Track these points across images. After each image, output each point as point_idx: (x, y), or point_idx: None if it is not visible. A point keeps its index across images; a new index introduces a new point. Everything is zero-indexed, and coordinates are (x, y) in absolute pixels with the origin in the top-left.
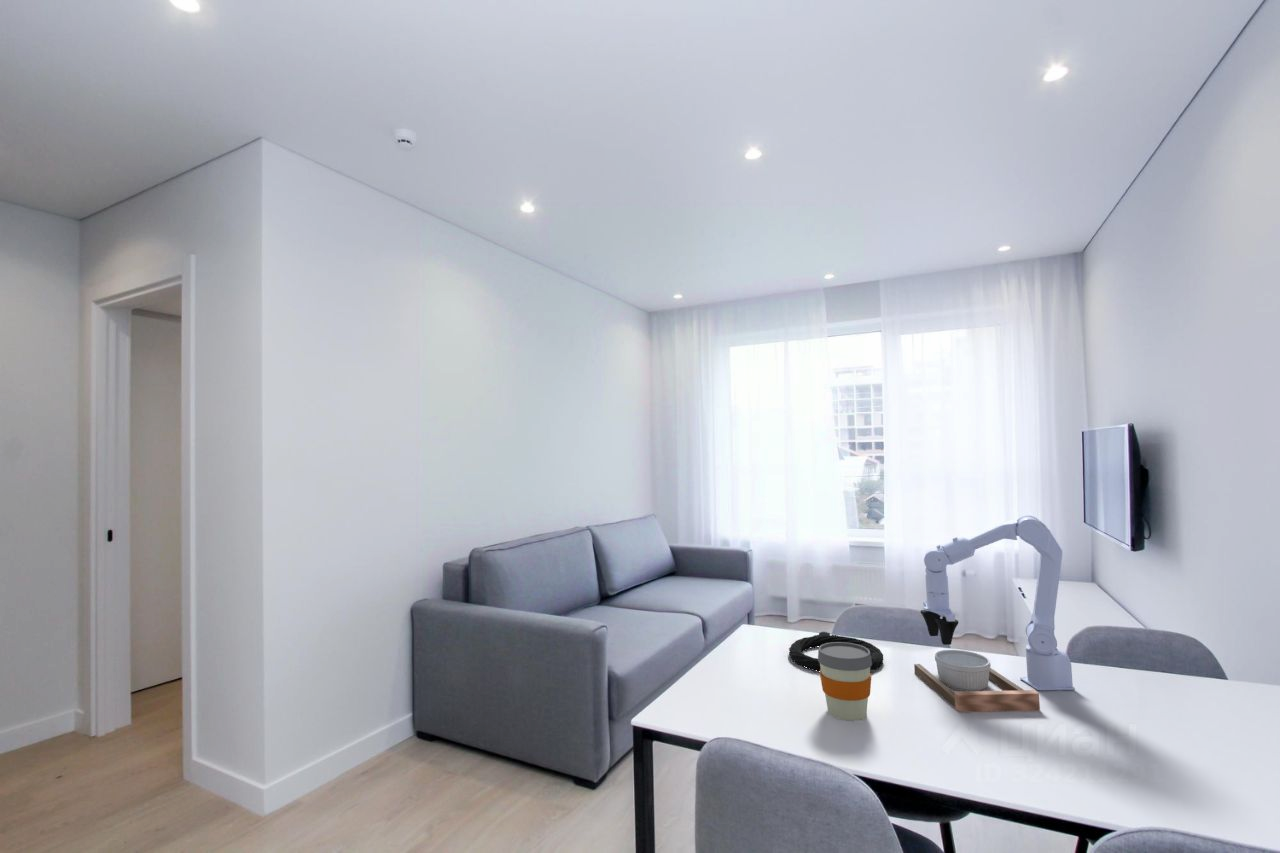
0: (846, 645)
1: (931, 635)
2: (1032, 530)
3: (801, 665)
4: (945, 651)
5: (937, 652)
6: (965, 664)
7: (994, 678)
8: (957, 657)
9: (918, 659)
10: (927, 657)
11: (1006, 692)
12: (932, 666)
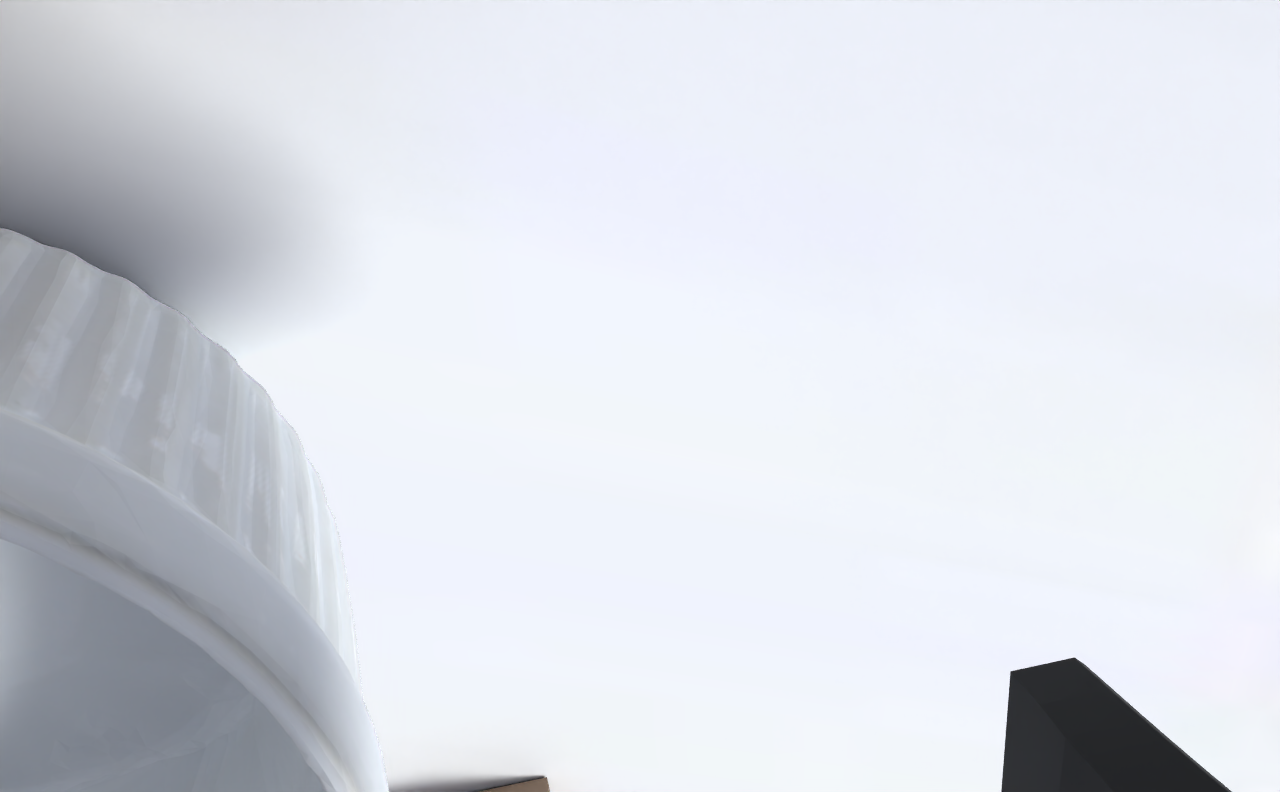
0: None
1: (1019, 702)
2: None
3: None
4: (272, 712)
5: (31, 540)
6: (295, 783)
7: None
8: (322, 787)
9: (1148, 89)
10: (1210, 274)
11: None
12: (761, 248)
